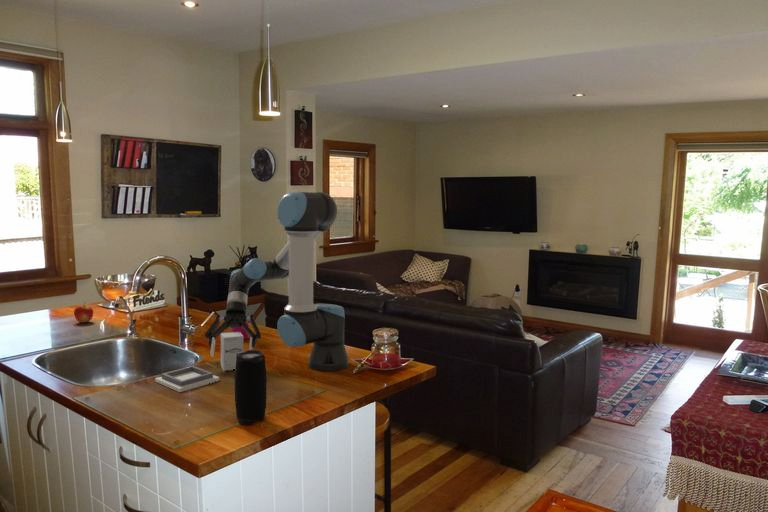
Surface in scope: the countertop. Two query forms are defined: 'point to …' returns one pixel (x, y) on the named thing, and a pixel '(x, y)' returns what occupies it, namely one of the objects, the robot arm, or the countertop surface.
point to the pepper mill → (241, 330)
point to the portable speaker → (250, 386)
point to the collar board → (186, 378)
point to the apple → (83, 313)
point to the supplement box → (230, 349)
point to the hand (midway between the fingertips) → (231, 354)
